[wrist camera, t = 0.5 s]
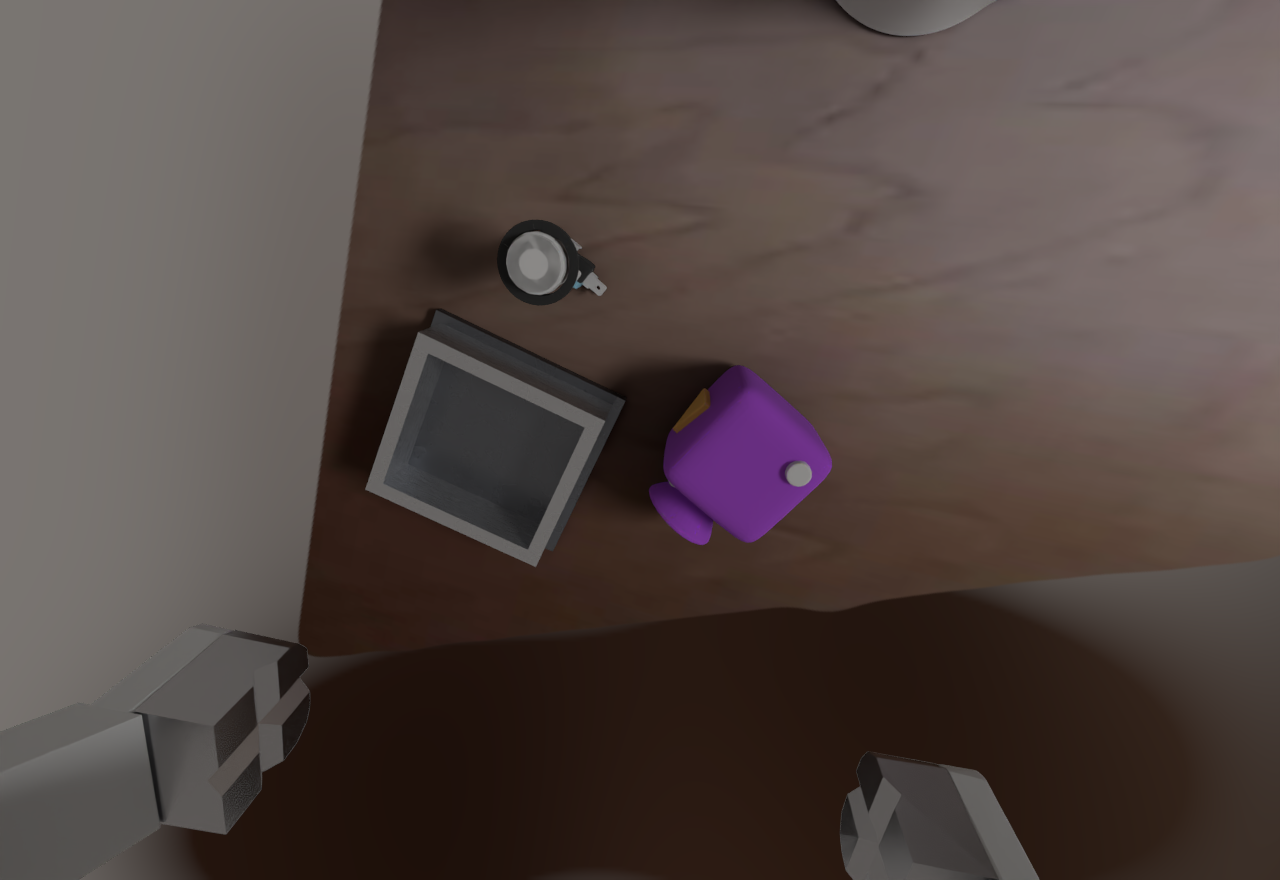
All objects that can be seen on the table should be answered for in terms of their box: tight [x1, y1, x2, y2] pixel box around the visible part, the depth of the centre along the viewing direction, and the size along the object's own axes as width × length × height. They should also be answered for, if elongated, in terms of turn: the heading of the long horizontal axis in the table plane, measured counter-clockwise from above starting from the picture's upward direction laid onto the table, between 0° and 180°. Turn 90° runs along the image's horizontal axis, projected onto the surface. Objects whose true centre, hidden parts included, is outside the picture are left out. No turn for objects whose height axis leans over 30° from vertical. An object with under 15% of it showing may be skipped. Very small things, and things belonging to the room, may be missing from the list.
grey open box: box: [365, 309, 626, 567], centre depth 50 cm, size 16×17×6 cm
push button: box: [497, 220, 607, 305], centre depth 43 cm, size 7×5×10 cm
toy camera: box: [649, 365, 832, 545], centre depth 47 cm, size 11×14×10 cm
